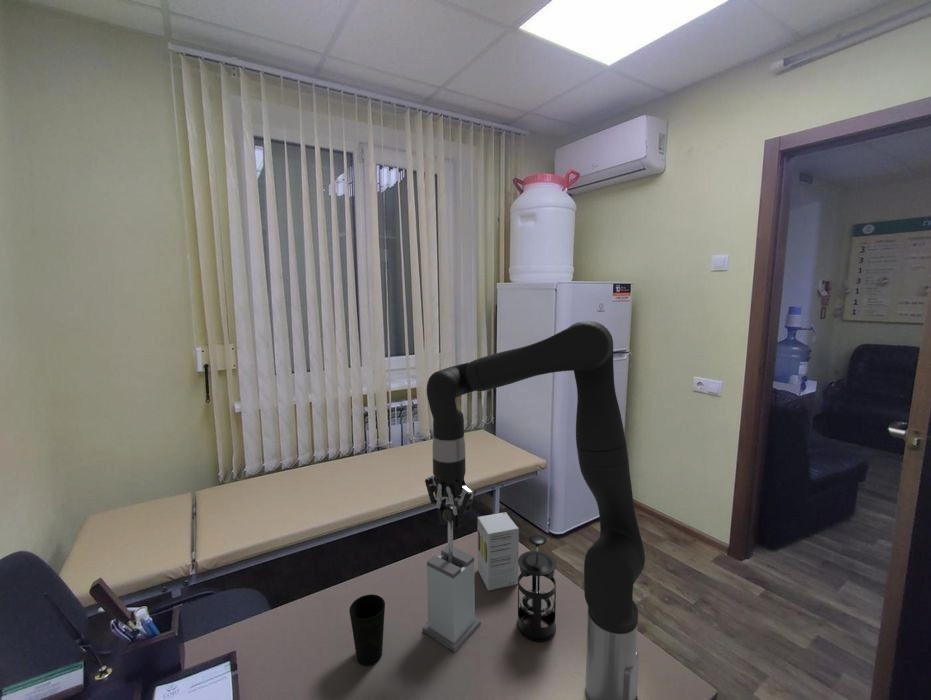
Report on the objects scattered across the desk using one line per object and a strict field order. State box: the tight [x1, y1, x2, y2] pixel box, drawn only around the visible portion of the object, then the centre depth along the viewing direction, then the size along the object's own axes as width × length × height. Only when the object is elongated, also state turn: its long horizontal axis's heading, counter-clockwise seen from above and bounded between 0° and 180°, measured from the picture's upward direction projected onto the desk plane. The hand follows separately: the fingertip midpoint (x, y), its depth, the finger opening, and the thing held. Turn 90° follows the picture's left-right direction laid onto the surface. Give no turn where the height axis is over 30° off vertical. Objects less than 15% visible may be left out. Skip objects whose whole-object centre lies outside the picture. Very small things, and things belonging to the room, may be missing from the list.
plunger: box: [442, 504, 464, 568], centre depth 97 cm, size 6×6×17 cm
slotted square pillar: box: [422, 545, 482, 653], centre depth 98 cm, size 10×10×18 cm
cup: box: [349, 593, 386, 667], centre depth 91 cm, size 8×8×12 cm
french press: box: [516, 534, 557, 643], centre depth 99 cm, size 12×9×23 cm
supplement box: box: [477, 511, 520, 591], centre depth 116 cm, size 10×9×17 cm
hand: (450, 524), depth 96 cm, fingers closed on plunger, 3 cm apart
